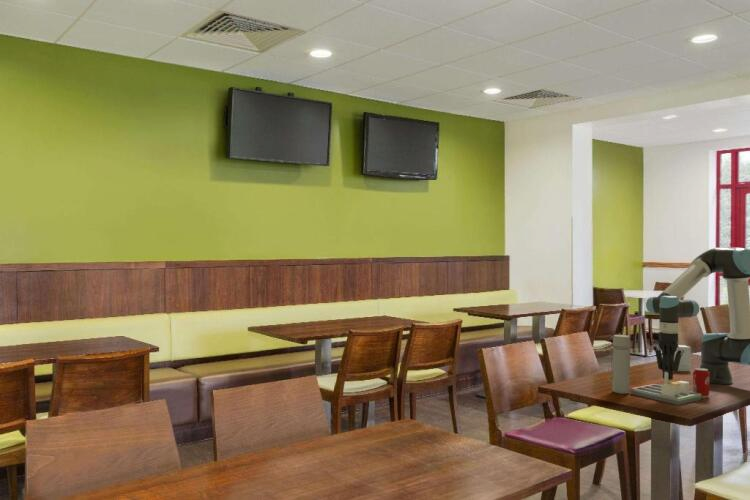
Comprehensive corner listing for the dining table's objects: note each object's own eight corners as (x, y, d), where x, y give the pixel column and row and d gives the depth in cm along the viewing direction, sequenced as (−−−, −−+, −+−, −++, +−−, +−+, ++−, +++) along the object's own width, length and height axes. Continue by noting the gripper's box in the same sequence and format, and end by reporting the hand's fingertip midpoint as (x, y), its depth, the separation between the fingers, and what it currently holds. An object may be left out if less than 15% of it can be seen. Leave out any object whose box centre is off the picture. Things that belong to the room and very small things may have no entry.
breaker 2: (680, 392, 282) (680, 380, 282) (689, 394, 278) (689, 382, 278) (675, 393, 279) (675, 381, 279) (684, 395, 276) (684, 383, 276)
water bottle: (630, 391, 289) (631, 335, 288) (629, 395, 282) (630, 337, 281) (608, 389, 293) (609, 333, 292) (606, 392, 285) (607, 336, 285)
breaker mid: (671, 393, 279) (671, 381, 279) (680, 395, 276) (680, 383, 276) (666, 394, 277) (666, 382, 277) (675, 396, 274) (675, 384, 274)
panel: (653, 389, 293) (653, 383, 293) (701, 399, 275) (701, 393, 275) (630, 393, 284) (630, 388, 284) (678, 404, 266) (678, 398, 266)
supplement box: (690, 371, 336) (691, 347, 335) (676, 371, 336) (677, 347, 335) (684, 368, 343) (684, 344, 343) (670, 368, 343) (670, 344, 343)
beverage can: (710, 398, 277) (711, 370, 277) (695, 397, 278) (695, 369, 278) (706, 395, 283) (707, 367, 283) (690, 394, 284) (691, 367, 284)
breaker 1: (666, 395, 276) (666, 383, 276) (675, 397, 272) (675, 385, 272) (661, 396, 273) (661, 384, 273) (670, 398, 270) (670, 386, 270)
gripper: (649, 330, 282) (648, 385, 282) (678, 334, 271) (676, 391, 271) (659, 329, 286) (658, 383, 286) (688, 333, 275) (687, 388, 276)
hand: (667, 386), depth 279 cm, fingers closed
